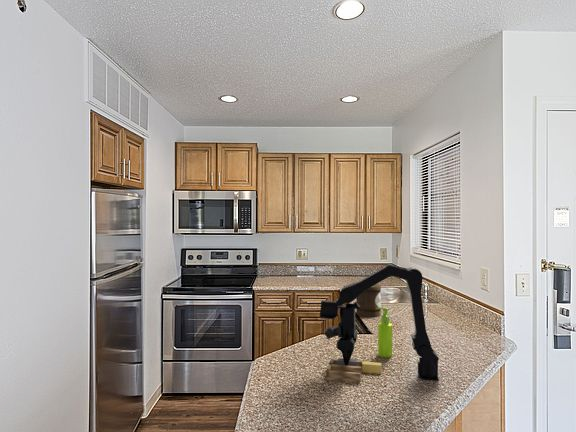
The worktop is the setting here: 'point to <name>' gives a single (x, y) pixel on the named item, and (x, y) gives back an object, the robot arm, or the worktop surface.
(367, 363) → the yellow rectangular block
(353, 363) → the tall grey block
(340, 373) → the slot board
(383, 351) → the soap dispenser
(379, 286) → the wooden container
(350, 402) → the worktop surface
